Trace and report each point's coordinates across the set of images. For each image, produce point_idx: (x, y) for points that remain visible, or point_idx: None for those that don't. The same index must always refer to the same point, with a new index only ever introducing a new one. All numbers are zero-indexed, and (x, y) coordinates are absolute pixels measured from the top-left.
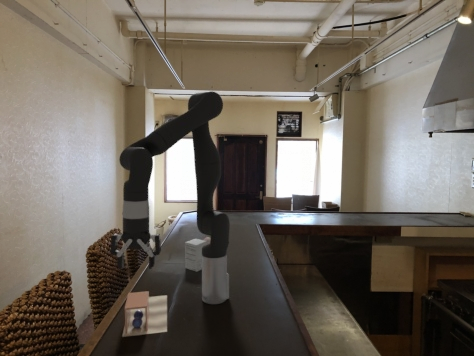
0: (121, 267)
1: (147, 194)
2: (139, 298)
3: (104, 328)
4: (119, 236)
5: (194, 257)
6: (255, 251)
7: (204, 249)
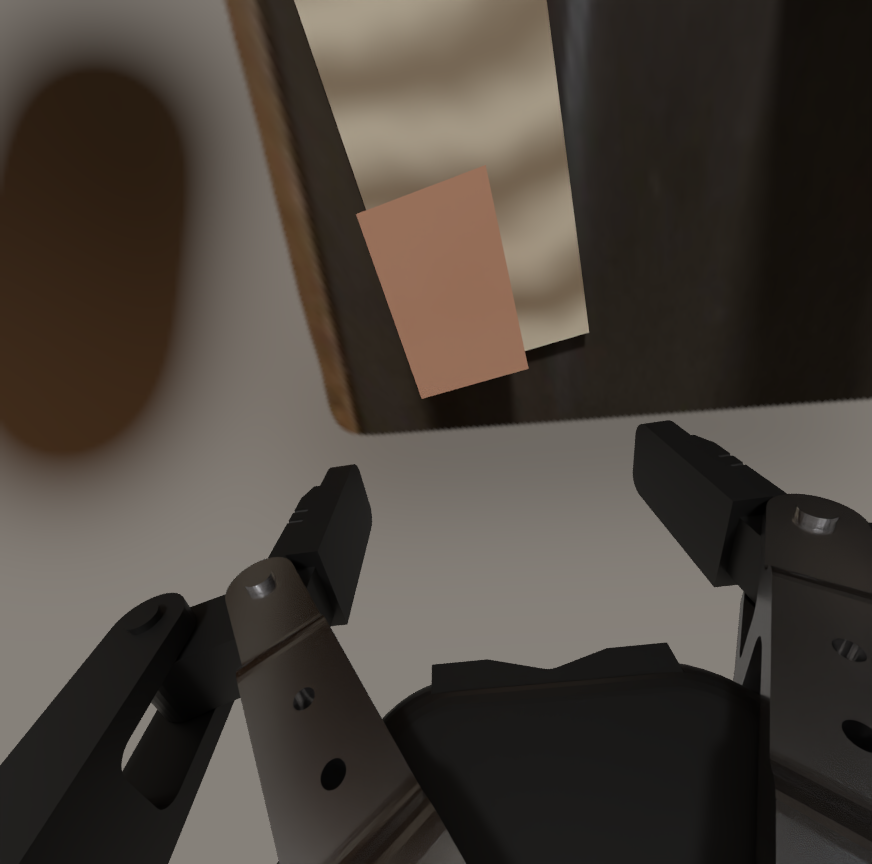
0: (366, 533)
1: None
2: (459, 286)
3: (319, 309)
4: None
5: None
6: None
7: None
